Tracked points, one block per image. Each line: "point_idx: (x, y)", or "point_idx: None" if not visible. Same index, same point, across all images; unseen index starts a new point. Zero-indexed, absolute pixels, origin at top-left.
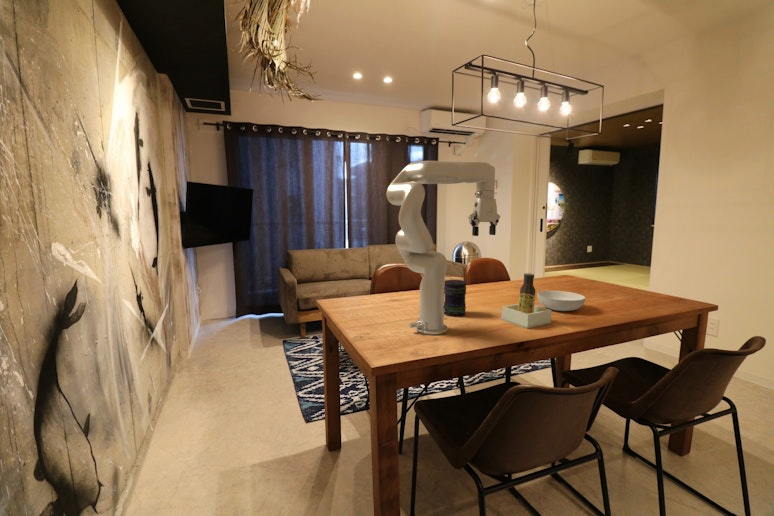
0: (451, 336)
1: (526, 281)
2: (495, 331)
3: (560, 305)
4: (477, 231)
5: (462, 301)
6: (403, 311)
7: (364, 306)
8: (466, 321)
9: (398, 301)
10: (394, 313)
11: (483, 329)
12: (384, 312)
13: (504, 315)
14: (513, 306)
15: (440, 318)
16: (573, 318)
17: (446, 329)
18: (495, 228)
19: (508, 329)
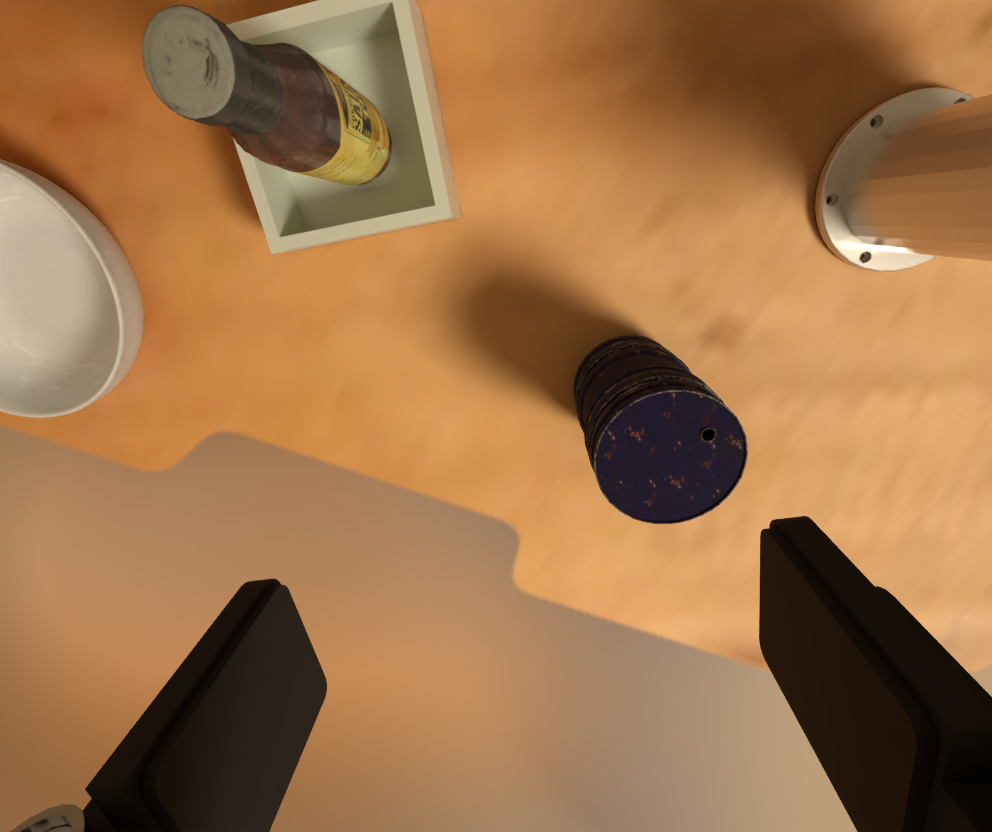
0: (880, 40)
1: (261, 61)
2: (610, 36)
3: (69, 195)
4: (873, 585)
5: (628, 361)
6: (825, 501)
7: (936, 622)
8: (646, 254)
9: (748, 639)
10: (884, 487)
11: (648, 94)
12: (915, 516)
13: (453, 194)
14: (371, 219)
15: (956, 104)
16: (75, 101)
17: (867, 115)
18: (154, 706)
19: (524, 44)
